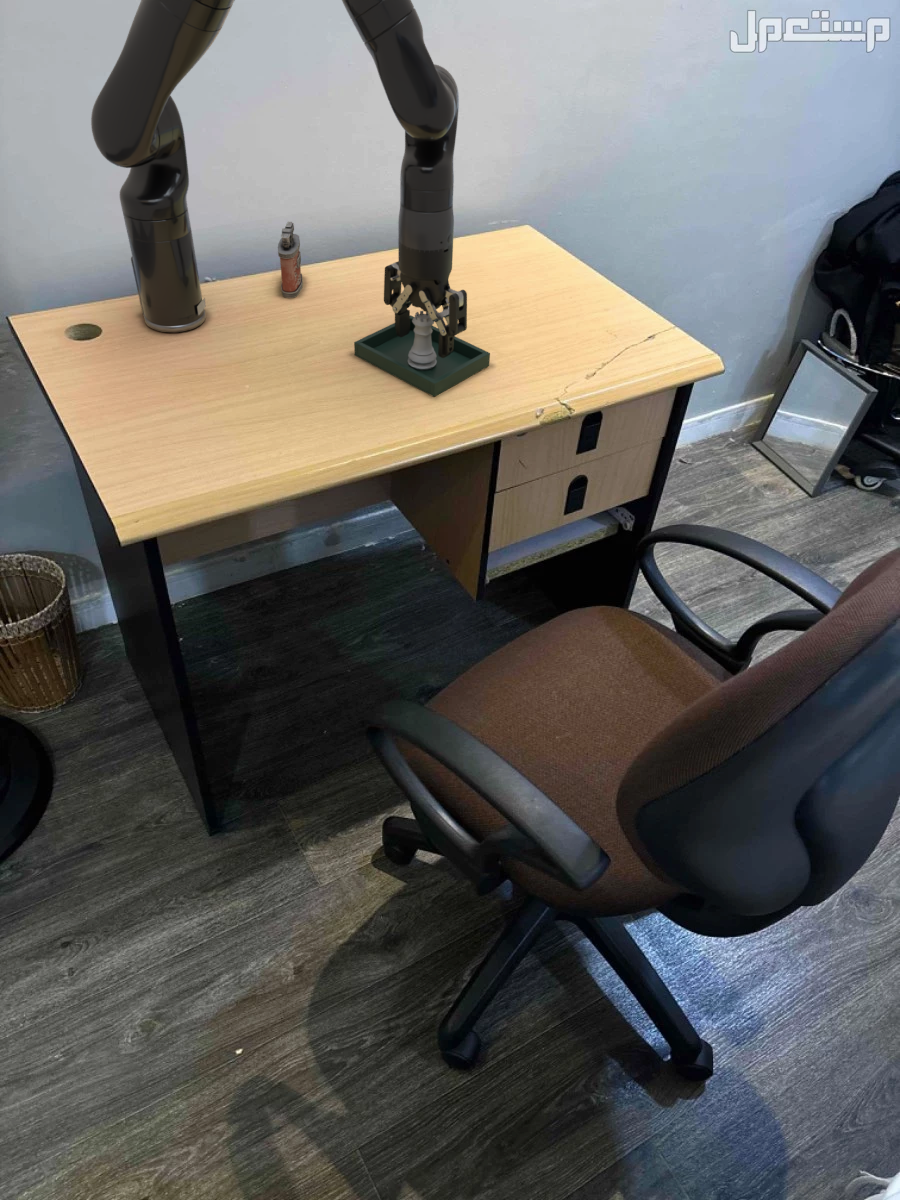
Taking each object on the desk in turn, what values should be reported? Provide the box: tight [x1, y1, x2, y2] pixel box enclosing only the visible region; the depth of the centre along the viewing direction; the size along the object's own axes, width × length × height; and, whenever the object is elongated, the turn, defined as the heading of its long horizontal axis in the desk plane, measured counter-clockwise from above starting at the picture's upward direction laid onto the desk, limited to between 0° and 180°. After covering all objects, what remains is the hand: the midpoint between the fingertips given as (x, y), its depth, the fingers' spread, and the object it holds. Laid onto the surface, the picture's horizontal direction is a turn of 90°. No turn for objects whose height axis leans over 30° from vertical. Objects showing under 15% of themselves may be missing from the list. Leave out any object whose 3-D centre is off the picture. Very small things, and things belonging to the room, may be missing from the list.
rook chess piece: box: [408, 310, 437, 371], centre depth 130 cm, size 4×4×8 cm
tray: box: [353, 314, 491, 398], centre depth 134 cm, size 17×13×2 cm
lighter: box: [277, 221, 304, 299], centre depth 146 cm, size 8×3×10 cm, turn 179°
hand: (423, 345), depth 131 cm, fingers open, 8 cm apart
